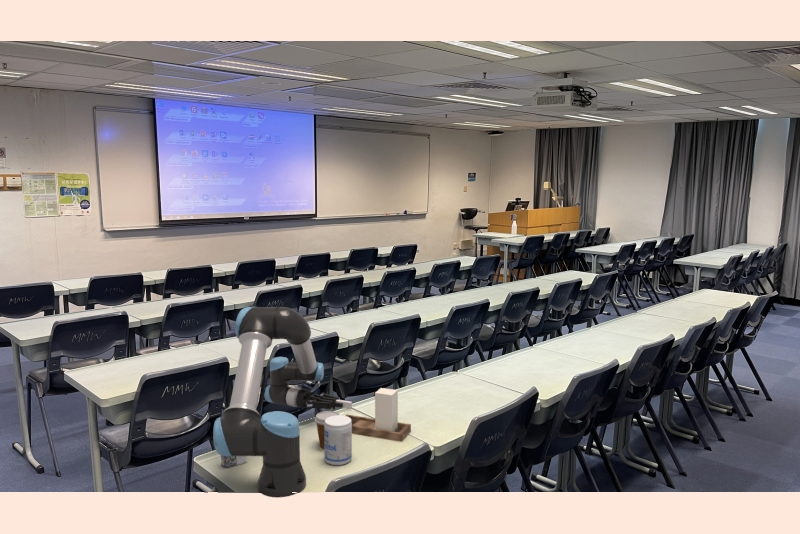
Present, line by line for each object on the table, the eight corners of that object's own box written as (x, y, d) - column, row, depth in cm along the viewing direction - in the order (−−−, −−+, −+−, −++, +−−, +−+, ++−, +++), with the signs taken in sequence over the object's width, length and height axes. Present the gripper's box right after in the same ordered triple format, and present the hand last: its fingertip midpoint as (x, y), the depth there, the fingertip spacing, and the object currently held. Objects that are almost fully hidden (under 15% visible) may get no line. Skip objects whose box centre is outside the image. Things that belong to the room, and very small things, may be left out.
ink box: (247, 462, 202) (245, 422, 200) (224, 468, 198) (222, 427, 196) (243, 458, 205) (242, 419, 203) (221, 464, 201) (219, 424, 199)
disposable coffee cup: (310, 448, 213) (309, 417, 211) (325, 438, 221) (324, 408, 220) (331, 454, 209) (331, 422, 207) (346, 443, 217) (345, 413, 215)
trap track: (335, 430, 229) (335, 423, 228) (346, 421, 238) (346, 414, 238) (401, 441, 219) (401, 434, 218) (410, 431, 228) (410, 424, 228)
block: (375, 430, 224) (374, 392, 222) (381, 424, 230) (381, 387, 228) (392, 432, 222) (391, 395, 220) (397, 426, 227) (397, 390, 225)
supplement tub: (319, 462, 202) (318, 422, 200) (334, 451, 211) (333, 412, 209) (342, 468, 198) (341, 427, 196) (357, 457, 206) (356, 417, 204)
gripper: (308, 401, 246) (358, 408, 237) (291, 412, 234) (343, 420, 225) (307, 384, 245) (358, 391, 236) (291, 394, 233) (343, 402, 224)
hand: (351, 405), depth 231 cm, fingers closed
